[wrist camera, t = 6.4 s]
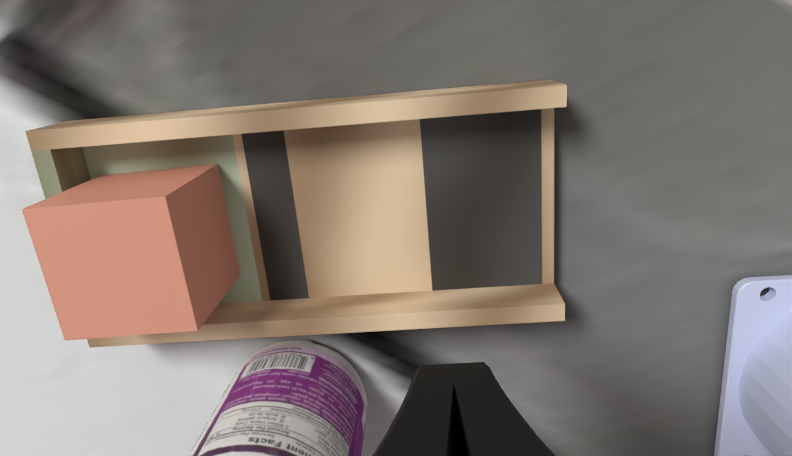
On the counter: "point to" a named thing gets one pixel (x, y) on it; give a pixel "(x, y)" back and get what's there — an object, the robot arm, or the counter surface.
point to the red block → (136, 252)
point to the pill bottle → (289, 406)
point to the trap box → (355, 205)
